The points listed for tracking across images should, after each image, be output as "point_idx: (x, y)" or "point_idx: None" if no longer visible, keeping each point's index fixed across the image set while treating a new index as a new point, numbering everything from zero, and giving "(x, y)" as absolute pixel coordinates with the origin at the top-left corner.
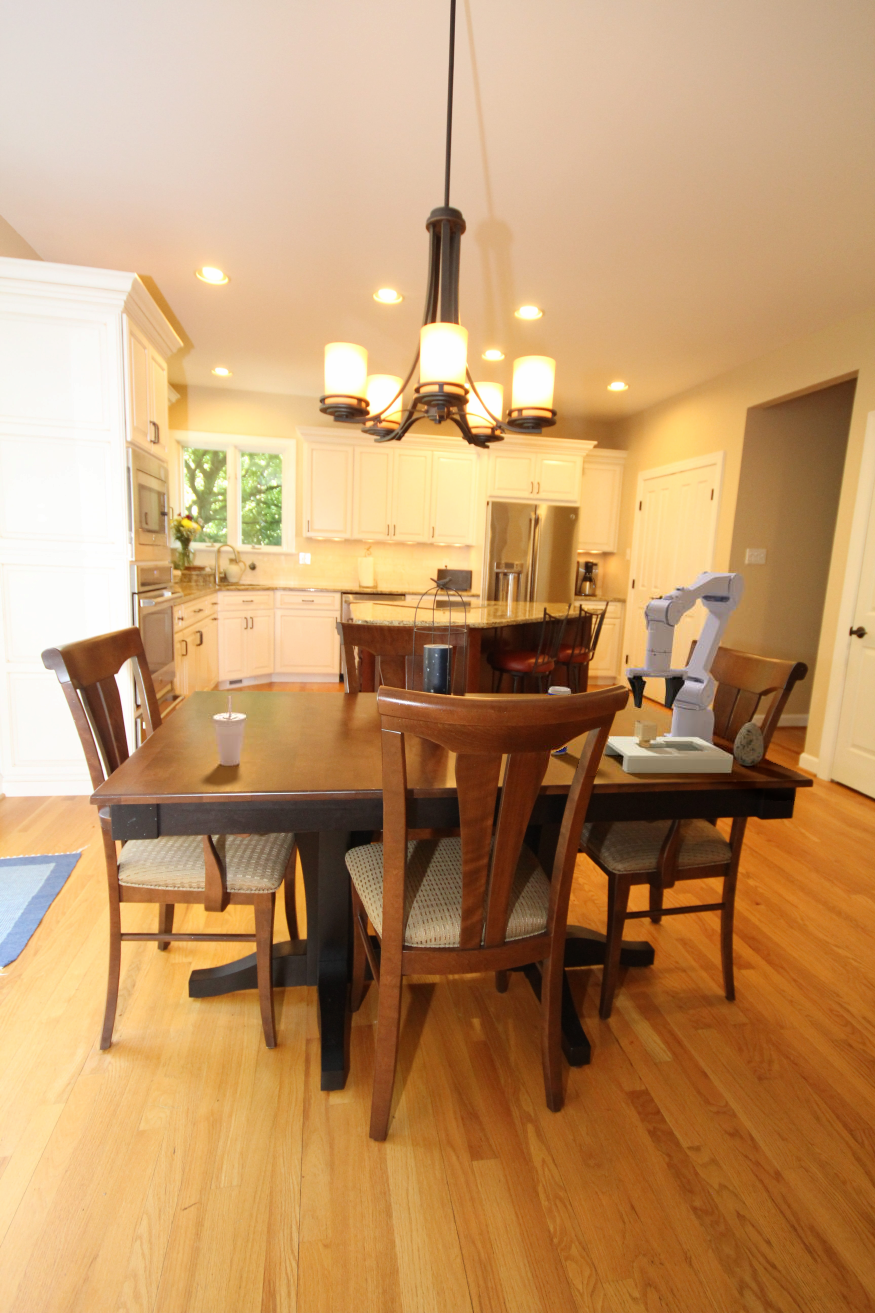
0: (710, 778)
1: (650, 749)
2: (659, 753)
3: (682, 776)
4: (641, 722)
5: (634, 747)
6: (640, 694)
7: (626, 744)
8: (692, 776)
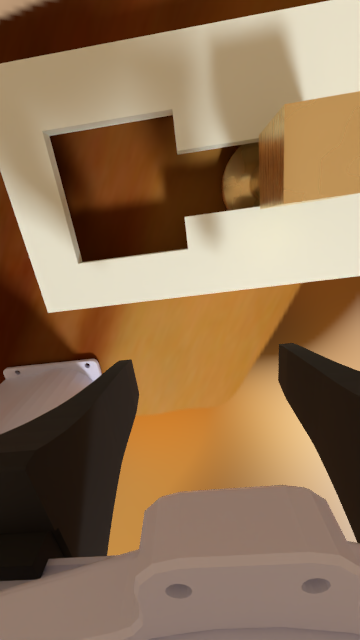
0: (98, 19)
1: None
2: (271, 49)
3: None
4: (354, 153)
5: None
6: (342, 371)
7: None
8: None
